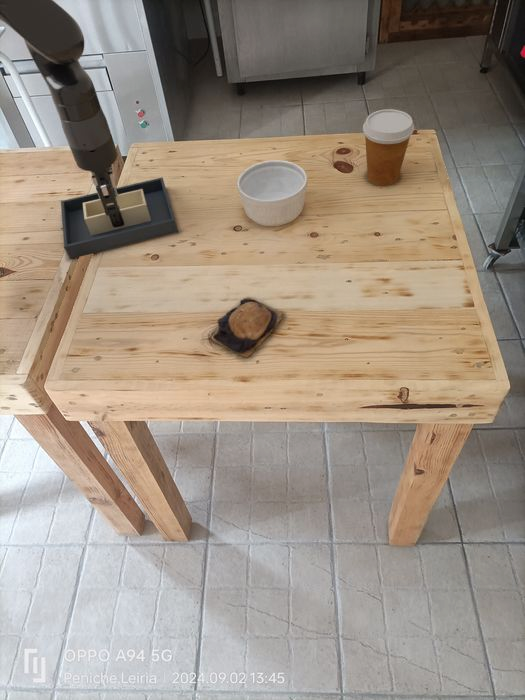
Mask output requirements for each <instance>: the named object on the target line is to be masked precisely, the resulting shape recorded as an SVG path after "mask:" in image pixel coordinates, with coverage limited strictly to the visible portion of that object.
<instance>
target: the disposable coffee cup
mask: <svg viewBox="0 0 525 700" xmlns="http://www.w3.org/2000/svg"><path fill="white" fill-rule="evenodd" d="M362 131H363V133H364V138H365V139H364V141H365V156H366V174H367V179H368V181H369V182H370V183H372V184H374V185H376V186H390V185H393V184H395V183H396V182H397V181H398V180H399V177H400V175H401V170H402V166H403V163H404V160H405V157H406V152H407V148H408V145H409V141H410V138H411V136H412V134H413V133H414V131H415V125H414V122H413V118H412V116H411V115H410V114H408V113H407V112H405V111H402V110H399V109H391V108H388V109H387V108H386V109H380V110H376V111H374V112H371V113H370V114H369V115H368V116H367V117H366V119H365V122H364V123H363V125H362Z"/></svg>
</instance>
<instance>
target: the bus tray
mask: <svg viewBox="0 0 525 700" xmlns="http://www.w3.org/2000/svg"><path fill="white" fill-rule="evenodd" d="M116 189H117V192H118V194H123V193H127V192H131V191H135V190H140V189H143V192H144V196H145V199H146V202H147V205H148V210H149V214H150V218H151V221H149V222H145V223H141V224H137V225H133V226H129V227H125V228H121V229H117V230H113V231H108V232H104V233H100V234H96V235H92V236H91V233H90V231H89V229H88V226H87V224H86V222H85V219H84V211H83V203H85V202H89V201H93V200H97V199H100V198H99V196H98V192H97V191H96V192H94V193H89V194H85V195H80V196H77V197H73V198H68V199H64V200H60V209H61V223H62V224H61V225H62V237H63V248H64V251H65V252H66V254H67V256H68V258H69V260H72V259H76V258H80V257H81V258H82V257H84V256H88V255H92V254H97V253H100V252H104V251H107V250H108V251H109V250H113V249H116V248H121V247H124V246H128V245H133V244H137V243H140V242H146V241H149V240H152V239H153V240H154V239H157V238H162V237H165V236H169V235H173V234H177V233H179V229H178V226H177V225H178V224H177V221H176V219H175V214H174V211H173V208H172V204H171V202H170V198H169V195H168V194H169V193H168V191H167V187H166V183H165V181H164V178H163V176H162V177H157V178H152V179H149V180H144V181H141V182H136V183H133V184H128V185H124V186H120V187H116Z"/></svg>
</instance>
